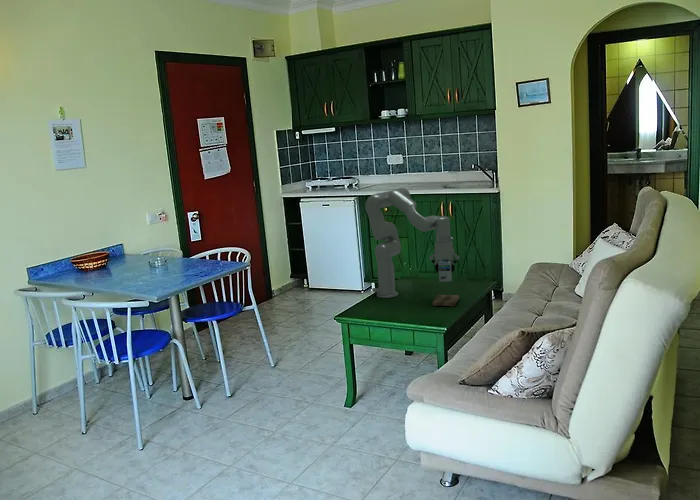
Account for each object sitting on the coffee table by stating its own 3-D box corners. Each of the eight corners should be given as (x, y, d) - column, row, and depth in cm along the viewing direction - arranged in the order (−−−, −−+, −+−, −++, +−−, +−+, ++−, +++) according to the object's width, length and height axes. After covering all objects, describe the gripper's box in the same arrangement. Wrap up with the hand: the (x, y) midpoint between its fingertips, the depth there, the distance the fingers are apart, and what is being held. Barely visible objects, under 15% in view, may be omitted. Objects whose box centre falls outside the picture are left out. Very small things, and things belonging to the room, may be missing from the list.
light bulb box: (452, 281, 325) (451, 261, 323) (439, 282, 325) (438, 262, 323) (450, 276, 335) (450, 257, 333) (438, 277, 336) (437, 258, 334)
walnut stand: (432, 306, 328) (432, 302, 327) (437, 299, 342) (437, 294, 341) (454, 307, 324) (454, 302, 323) (459, 299, 338) (459, 295, 337)
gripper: (460, 238, 327) (462, 270, 330) (428, 238, 333) (430, 270, 336) (458, 240, 320) (459, 273, 323) (425, 241, 326) (427, 273, 329)
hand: (444, 271), depth 329 cm, fingers closed on light bulb box, 7 cm apart
